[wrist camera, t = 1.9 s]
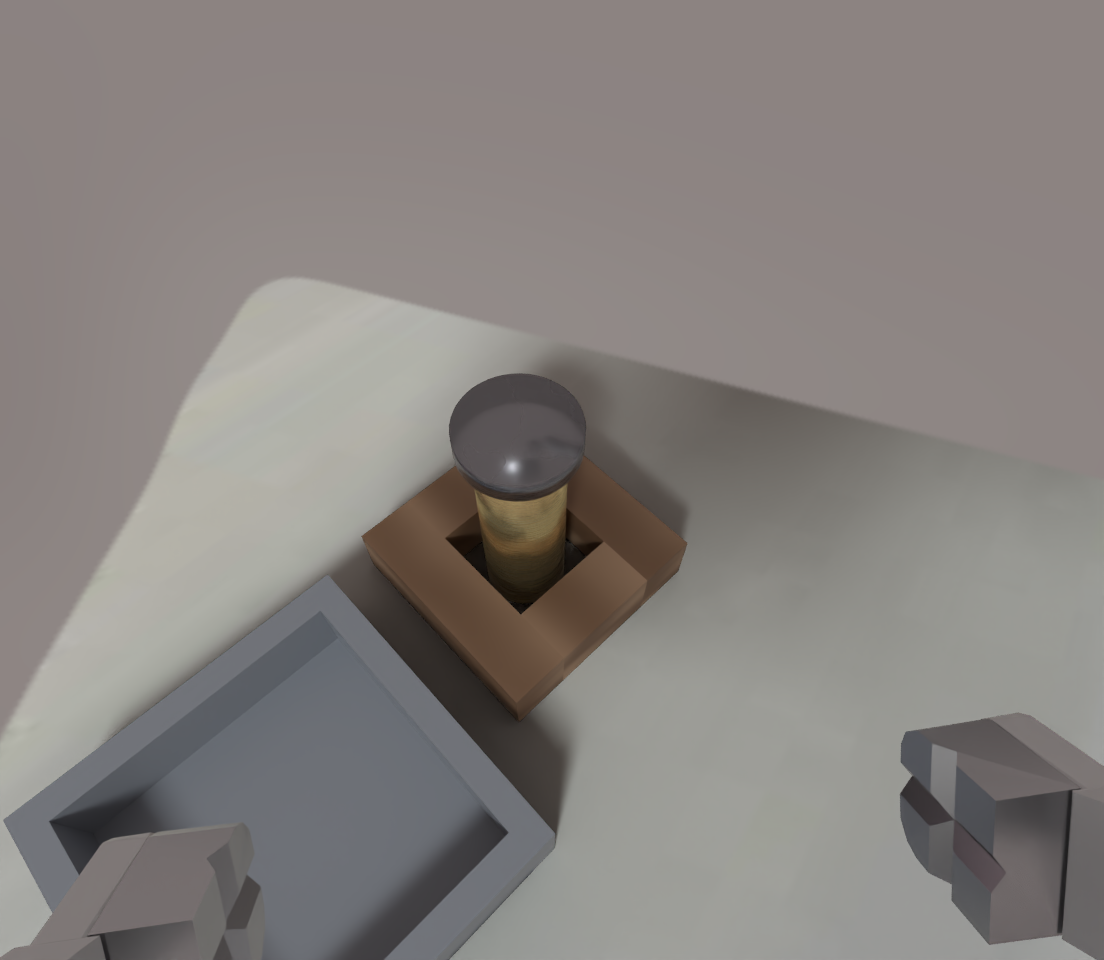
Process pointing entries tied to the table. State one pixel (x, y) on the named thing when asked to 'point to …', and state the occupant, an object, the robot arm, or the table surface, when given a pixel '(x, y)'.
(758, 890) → the table surface
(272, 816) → the pin tray
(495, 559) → the lock pin
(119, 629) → the table surface
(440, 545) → the socket block
